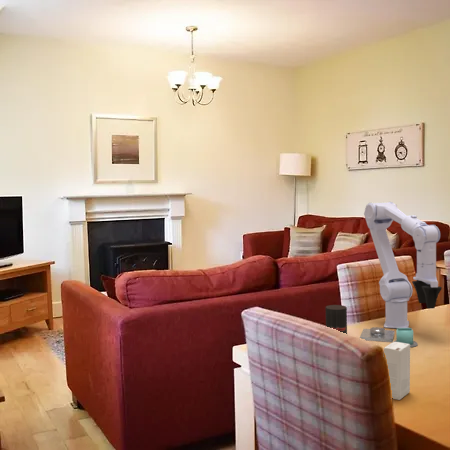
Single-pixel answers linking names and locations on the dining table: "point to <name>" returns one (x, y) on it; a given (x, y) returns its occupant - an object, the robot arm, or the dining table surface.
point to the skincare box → (398, 368)
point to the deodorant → (337, 317)
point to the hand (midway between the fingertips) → (426, 305)
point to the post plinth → (377, 334)
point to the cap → (404, 335)
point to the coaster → (413, 344)
